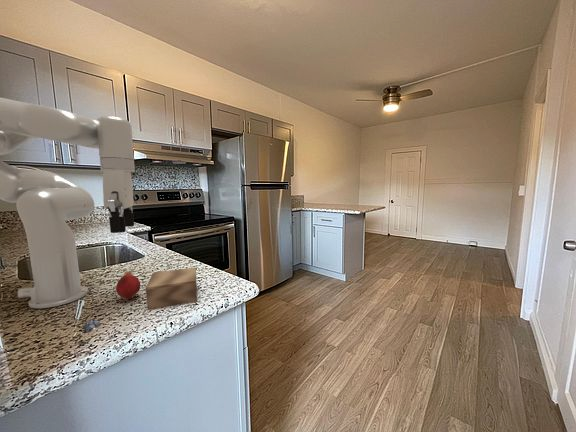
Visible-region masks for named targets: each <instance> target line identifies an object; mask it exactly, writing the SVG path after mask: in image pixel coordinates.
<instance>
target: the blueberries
mask: <svg viewBox="0 0 576 432" xmlns="http://www.w3.org/2000/svg"><path fill="white" fill-rule="evenodd" d="M100 326H101V321H99V320H97V319H96V320H95V319H89V320H88V321H86V322H85V323H84V324H83V325H82V326H81V329H82V330H84V331H83V333H84V334H87V333H90V332H92V331H94V330H95V329H97V328H98V327H100ZM71 331H72V332H73V331H74V329H72V330H71Z"/></svg>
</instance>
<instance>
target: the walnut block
mask: <svg viewBox="0 0 576 432" xmlns="http://www.w3.org/2000/svg"><path fill="white" fill-rule="evenodd" d="M197 285H198V284H197V268H196V266H195V267H188V268H180V269H171V270H162V271H154V272H152V274H151V276H150V278H149V280H148V282H147V284H146V285H145V295H146V296H145V297H146V307H147V310H149V311H150V310H154V309H159V308H167V307H172V306H179V305H184V304H191V303H196V302H197V300H198V292H197V291H198V289H197V288H198V286H197Z"/></svg>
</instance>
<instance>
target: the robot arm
mask: <svg viewBox="0 0 576 432" xmlns="http://www.w3.org/2000/svg"><path fill="white" fill-rule="evenodd" d="M33 138H34V139H39V138H40V139H46V140H49V141H53V142H59V143H63V144H70V145H73V146H74V145H75V146H81V147H84V148H91V149H98V155H99V164H100V172H103V173H102V174H103V175H102V194H103V195H102V196H103V197H102V199H103V207H104V209H105V210H108V218H109V219H108V220H109V231H110V233H111V234H117V233H119V234H121V233H125V232H126V231H127V229H126V228H128V227H134V226H135V218H134V216H135V215H134V209H133V206H134V191H133V190H134V187H133V182H132V181H133V179H132V173H135V172H136V170H135V169H136V168H135V157H134V144H133V130H132V125H131V123H130V121H129V120H127V119H125V118H123V117H120V116H119V117H118V116H112V115H104V116H103V115H102V116H101V115H100V116H99V117H97V119H95V118H90V117H87V116H85V115H81V114H78V113H74V112H71V111H69V110H65V109H60V108H56V107H51V106H46V105H41V104H36V103H30V102H23V101H19V100H15V99H11V98H10V99H9V98H6V97H5V98H4V97H0V156H3V155H4V156H5V155H8V154H10V153H13V152H14V151H16V150H17V149H19V148H20V147H21V146H23V145H24V144H26V142H28V141H29V140H31V139H33ZM0 200H1V201H4V202H7V203H12V204H13V203H16V210H17V214H18V216H19V218H20V221H21V223H22V225H23V227H24V231H25V235H26V239H27V247H28V252H29V259H30V265H31V266H30V267H31V273H32V279H33V285H34V286H33V287H24V288H19V289H18V290H17V298H18V299H22V298H27V297H29V298H30V299H29V300H28V302H27V303H28V307H29V308H32V309H48V308H53V307H58V306H62V305H63V306H64V305H67V304H69V303H73V302H75V301H77V300H80V299H82V298H83V297H85V296H86V295H88V293H89V288H88V287H87V286H86V285H81V276H80V269H79V260H78V251H77V244H76V238H75V234H74V232H73V229H71V227H70V226H69V225H68V223H67V221H71V220H77V219H83V218H85V217H88V216H89V215H91V214H92V213H93V211H94V209H95V201H94V200H95V199H93V197H92V195H91V194H90V193H89V192H88V191H86V190H85V189H83V188H82V187H80V186H79V185H77V184H75V183H73V182H72V181H71V180H68V179H66V177H65V178H64V177H62V176H61V175H59V174H57V173H55V172H52V171H49V170H48V171H47V170H44V169H32V168H31V169H28V168H27V169H26V168H20V167H19V168H18V167H14V166H12V165H10V164H7V163H6V162H4V161H3V160H1V159H0Z"/></svg>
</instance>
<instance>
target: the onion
mask: <svg viewBox="0 0 576 432" xmlns="http://www.w3.org/2000/svg"><path fill="white" fill-rule="evenodd" d="M140 289H141V281H140V279H139V278H138V277H137V276H135V275H133V274H131V271H127V272H125V274H124V275H123V276H121V277H120V279H119V280H118V281H117V282H116V285H115V292H116V294H117V295H118V296H119V297H121V298H122V299H123V298H124V299H127V300H131V299H133V298H134V296H136V295H137V294H138V293H139V291H140Z"/></svg>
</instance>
